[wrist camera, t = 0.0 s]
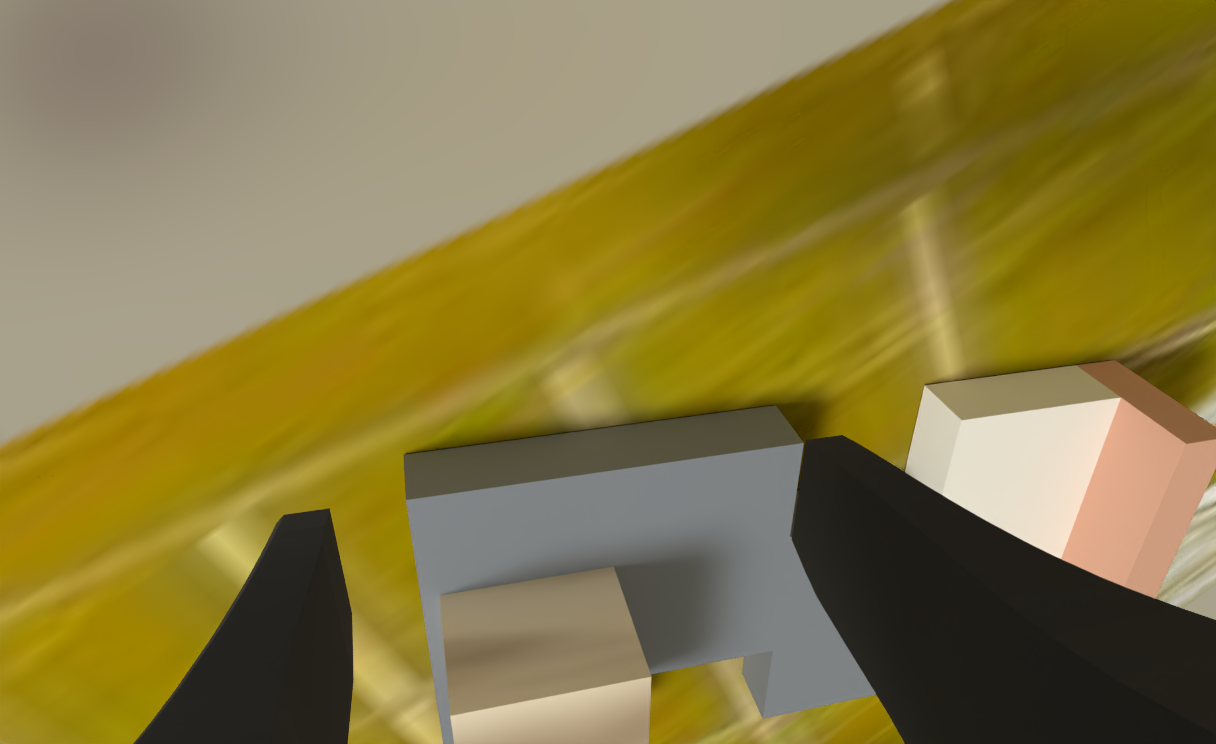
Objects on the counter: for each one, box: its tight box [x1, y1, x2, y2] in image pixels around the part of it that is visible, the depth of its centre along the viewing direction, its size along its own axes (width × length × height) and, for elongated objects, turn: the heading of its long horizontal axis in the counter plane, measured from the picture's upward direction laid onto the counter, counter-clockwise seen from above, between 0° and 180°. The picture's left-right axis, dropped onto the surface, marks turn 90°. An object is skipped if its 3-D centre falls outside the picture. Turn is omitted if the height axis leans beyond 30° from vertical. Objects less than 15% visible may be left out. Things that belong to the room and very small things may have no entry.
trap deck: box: [404, 360, 1216, 744], centre depth 27 cm, size 12×23×4 cm, turn 89°
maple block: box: [439, 566, 651, 744], centre depth 24 cm, size 5×5×4 cm
